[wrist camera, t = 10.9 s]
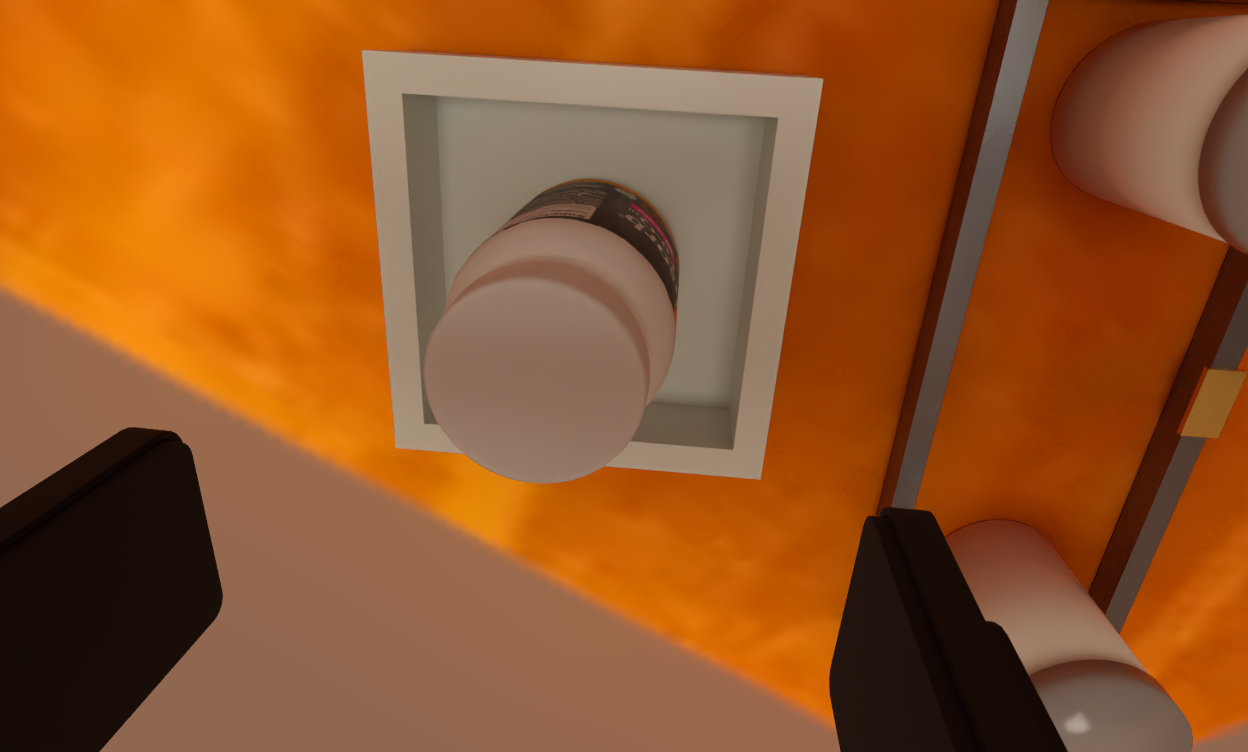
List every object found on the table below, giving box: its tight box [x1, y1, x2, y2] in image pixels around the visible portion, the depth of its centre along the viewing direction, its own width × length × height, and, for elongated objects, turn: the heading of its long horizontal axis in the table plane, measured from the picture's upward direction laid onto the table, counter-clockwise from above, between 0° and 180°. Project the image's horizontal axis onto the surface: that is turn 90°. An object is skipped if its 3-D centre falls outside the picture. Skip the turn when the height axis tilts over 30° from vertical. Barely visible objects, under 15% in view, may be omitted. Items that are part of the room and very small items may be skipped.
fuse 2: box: [945, 520, 1193, 752], centre depth 25 cm, size 5×5×8 cm
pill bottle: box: [424, 178, 680, 483], centre depth 19 cm, size 6×6×10 cm
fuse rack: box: [876, 0, 1248, 634], centre depth 24 cm, size 10×25×1 cm, turn 177°
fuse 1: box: [1051, 14, 1248, 255], centre depth 18 cm, size 5×5×8 cm
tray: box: [362, 50, 823, 480], centre depth 23 cm, size 12×12×4 cm
